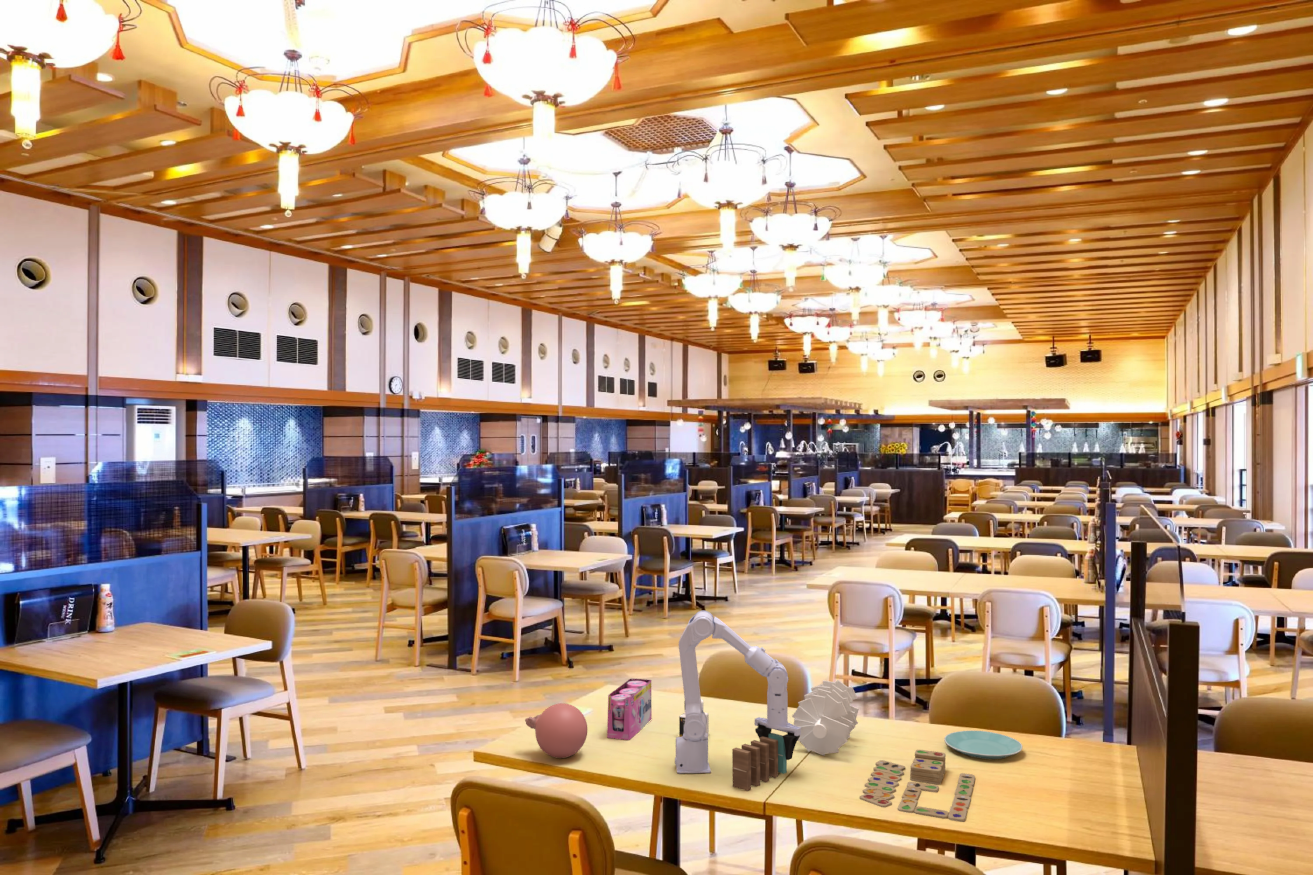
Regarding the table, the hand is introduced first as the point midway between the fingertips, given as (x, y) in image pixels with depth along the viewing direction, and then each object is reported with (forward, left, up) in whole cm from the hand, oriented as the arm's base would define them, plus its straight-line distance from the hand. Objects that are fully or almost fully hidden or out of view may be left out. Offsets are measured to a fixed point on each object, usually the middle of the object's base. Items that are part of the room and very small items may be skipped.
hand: (777, 755), depth 243 cm
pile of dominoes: (+35, -15, -5) cm, 38 cm away
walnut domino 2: (-9, -9, -4) cm, 13 cm away
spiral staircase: (+19, +21, -4) cm, 29 cm away
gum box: (-41, +40, -4) cm, 58 cm away
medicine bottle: (-21, +31, -4) cm, 38 cm away
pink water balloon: (-64, +16, -4) cm, 66 cm away
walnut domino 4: (-3, -3, -4) cm, 6 cm away
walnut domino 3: (-6, -6, -4) cm, 9 cm away
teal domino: (0, 0, -4) cm, 4 cm away
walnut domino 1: (-12, -12, -4) cm, 17 cm away
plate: (+65, +14, -5) cm, 67 cm away
